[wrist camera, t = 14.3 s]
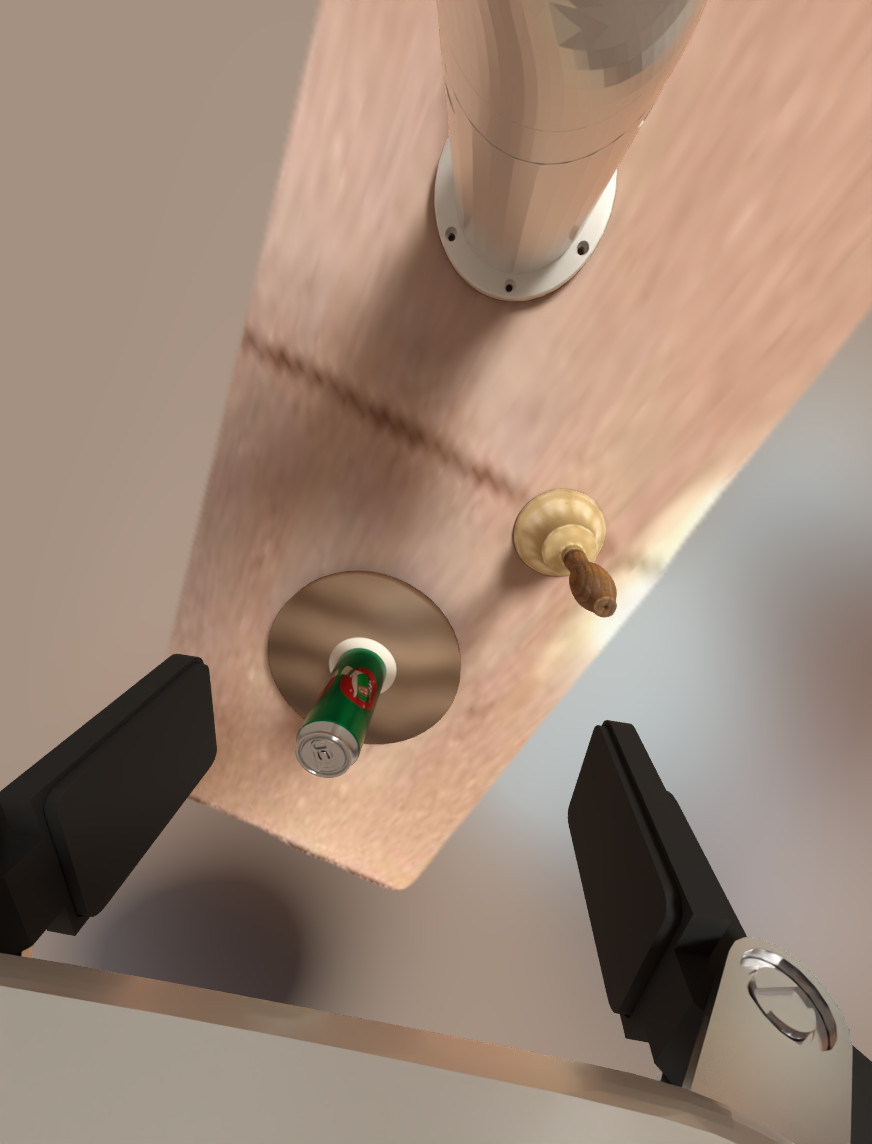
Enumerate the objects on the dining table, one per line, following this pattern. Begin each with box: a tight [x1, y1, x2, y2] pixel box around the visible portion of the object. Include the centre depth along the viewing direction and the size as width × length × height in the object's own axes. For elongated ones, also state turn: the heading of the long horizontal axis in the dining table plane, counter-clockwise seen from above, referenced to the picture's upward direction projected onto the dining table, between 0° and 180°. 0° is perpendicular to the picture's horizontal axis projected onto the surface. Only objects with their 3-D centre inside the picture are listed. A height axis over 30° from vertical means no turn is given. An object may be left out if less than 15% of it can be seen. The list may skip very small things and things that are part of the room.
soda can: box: [296, 648, 387, 778], centre depth 37 cm, size 5×5×12 cm
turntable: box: [268, 571, 461, 744], centre depth 43 cm, size 20×20×2 cm
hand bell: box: [514, 489, 617, 617], centre depth 31 cm, size 8×8×16 cm
